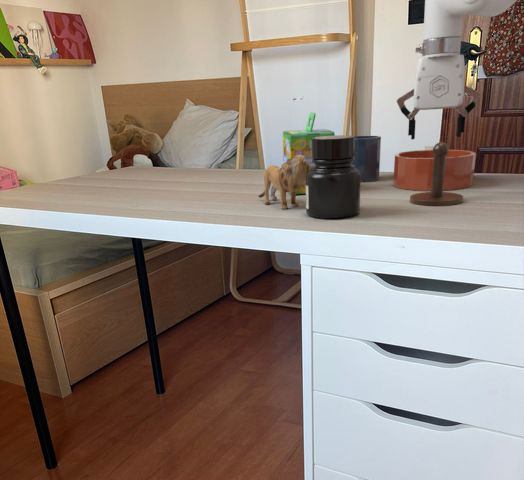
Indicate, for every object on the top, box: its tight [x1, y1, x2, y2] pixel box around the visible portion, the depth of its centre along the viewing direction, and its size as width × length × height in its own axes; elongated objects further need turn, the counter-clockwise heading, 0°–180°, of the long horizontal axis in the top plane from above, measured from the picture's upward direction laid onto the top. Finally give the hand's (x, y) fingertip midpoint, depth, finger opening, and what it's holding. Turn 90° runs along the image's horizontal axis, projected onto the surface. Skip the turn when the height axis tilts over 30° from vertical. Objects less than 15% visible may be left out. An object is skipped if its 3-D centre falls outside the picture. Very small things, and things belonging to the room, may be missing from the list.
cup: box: [351, 135, 382, 183], centre depth 118 cm, size 8×8×9 cm
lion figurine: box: [258, 155, 312, 210], centre depth 96 cm, size 15×5×9 cm, turn 36°
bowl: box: [392, 145, 477, 192], centre depth 111 cm, size 16×23×6 cm
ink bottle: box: [305, 134, 362, 219], centre depth 86 cm, size 10×9×12 cm
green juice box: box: [282, 112, 336, 195], centre depth 107 cm, size 9×9×15 cm
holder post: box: [409, 141, 464, 207], centre depth 92 cm, size 9×9×10 cm
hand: (435, 137), depth 117 cm, fingers open, 9 cm apart
